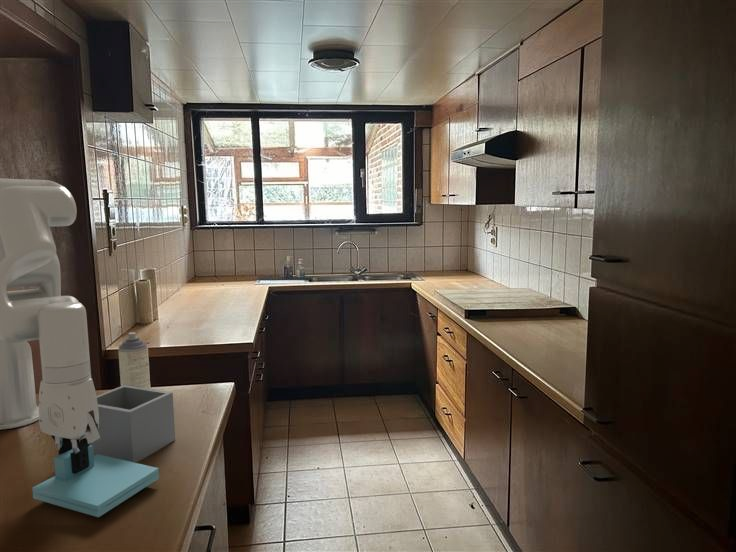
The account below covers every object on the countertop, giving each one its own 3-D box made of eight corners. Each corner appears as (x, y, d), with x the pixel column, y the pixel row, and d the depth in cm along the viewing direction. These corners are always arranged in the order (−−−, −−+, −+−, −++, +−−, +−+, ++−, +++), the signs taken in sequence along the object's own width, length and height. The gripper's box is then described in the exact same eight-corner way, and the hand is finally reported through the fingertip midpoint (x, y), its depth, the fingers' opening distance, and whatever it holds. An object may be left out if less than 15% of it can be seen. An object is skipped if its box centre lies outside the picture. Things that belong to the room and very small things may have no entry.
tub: (82, 453, 112) (78, 403, 110) (127, 430, 123) (124, 385, 121) (133, 464, 106) (129, 412, 105) (175, 440, 118) (172, 392, 116)
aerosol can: (145, 402, 140) (141, 328, 138) (155, 409, 136) (151, 333, 133) (118, 409, 136) (113, 333, 133) (128, 416, 131) (122, 337, 128)
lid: (33, 498, 92) (30, 465, 91) (98, 463, 104) (95, 434, 103) (98, 517, 86) (95, 482, 85) (159, 478, 98) (157, 447, 98)
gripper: (15, 373, 94) (24, 470, 96) (81, 383, 88) (89, 487, 90) (54, 361, 101) (61, 452, 103) (117, 370, 95) (124, 467, 97)
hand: (74, 468), depth 97 cm, fingers closed on lid
